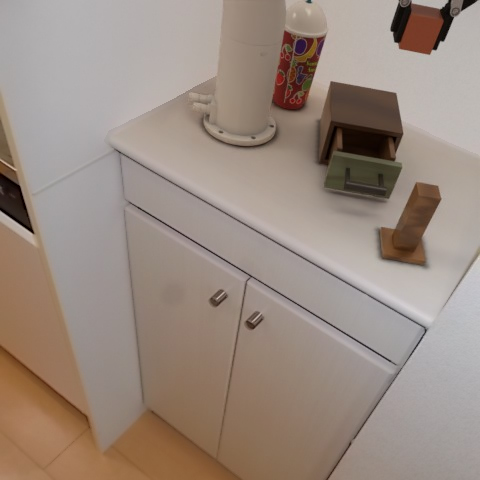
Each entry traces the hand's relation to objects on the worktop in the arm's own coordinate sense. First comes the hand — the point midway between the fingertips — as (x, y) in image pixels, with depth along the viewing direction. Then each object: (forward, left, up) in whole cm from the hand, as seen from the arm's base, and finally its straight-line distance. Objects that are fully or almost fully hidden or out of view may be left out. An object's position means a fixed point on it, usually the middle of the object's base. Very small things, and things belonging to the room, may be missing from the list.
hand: (414, 40), depth 66 cm
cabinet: (-1, +13, -23) cm, 26 cm away
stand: (+6, -12, -23) cm, 27 cm away
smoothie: (-13, +25, -23) cm, 36 cm away
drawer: (-1, +2, -22) cm, 22 cm away
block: (0, 0, -1) cm, 1 cm away
